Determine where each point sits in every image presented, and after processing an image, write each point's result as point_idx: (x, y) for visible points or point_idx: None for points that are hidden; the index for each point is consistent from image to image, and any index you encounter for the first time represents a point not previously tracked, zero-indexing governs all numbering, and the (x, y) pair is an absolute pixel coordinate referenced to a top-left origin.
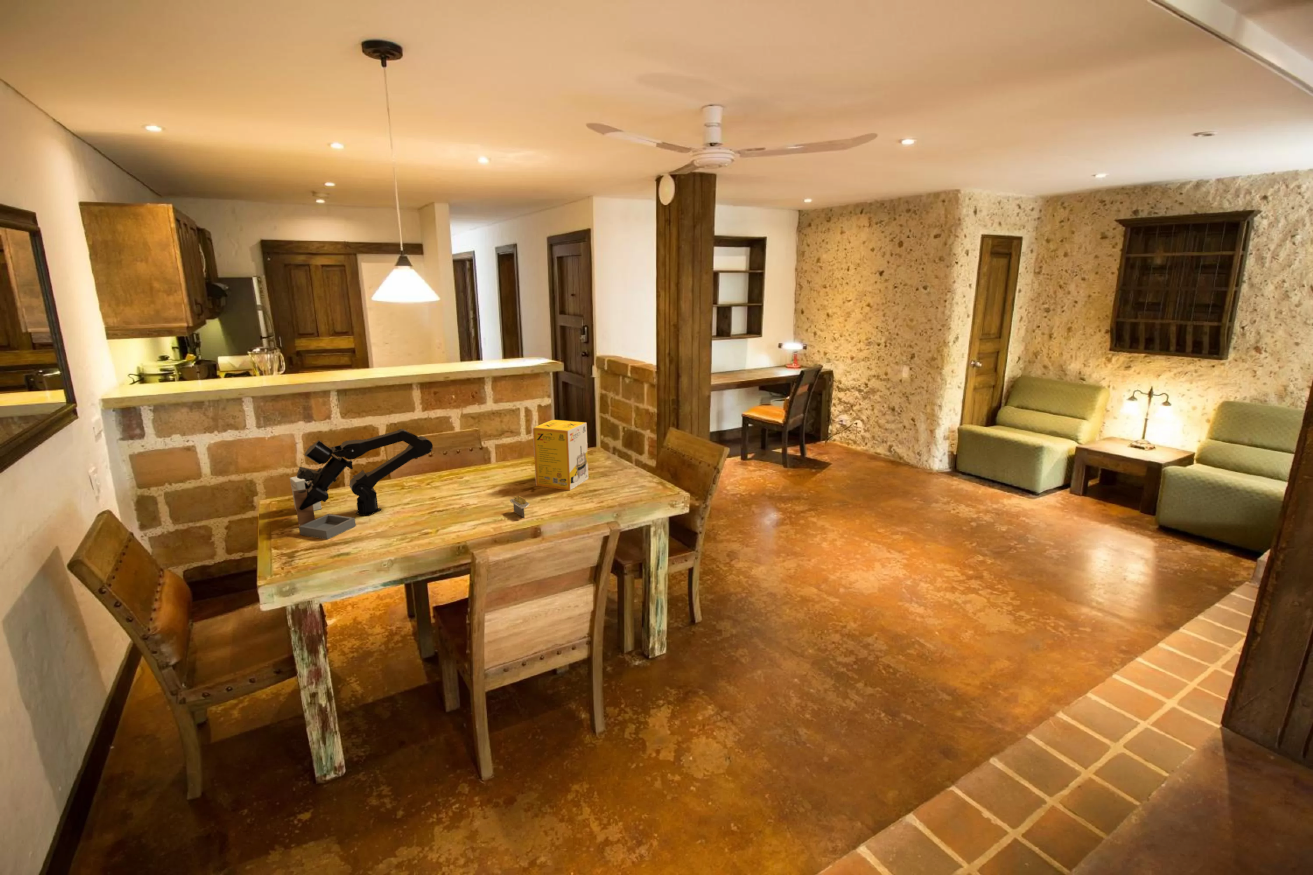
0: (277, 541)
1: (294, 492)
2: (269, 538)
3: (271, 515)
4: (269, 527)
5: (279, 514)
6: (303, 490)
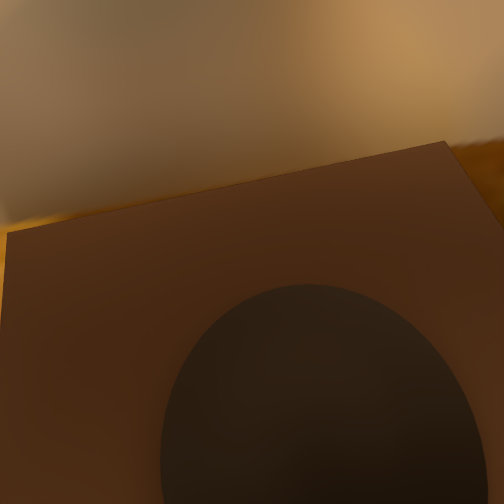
0: (3, 262)
1: (302, 191)
2: (86, 211)
3: (473, 148)
4: (274, 176)
5: (488, 181)
6: (451, 487)
